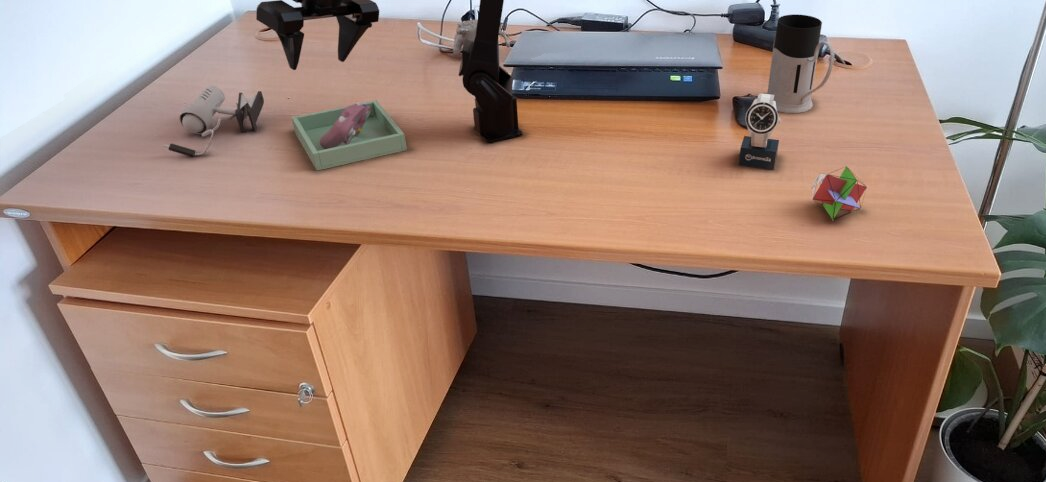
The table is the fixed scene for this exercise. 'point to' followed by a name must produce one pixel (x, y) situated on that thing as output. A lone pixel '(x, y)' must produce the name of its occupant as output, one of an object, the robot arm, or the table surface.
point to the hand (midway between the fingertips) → (317, 64)
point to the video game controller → (346, 126)
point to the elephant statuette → (469, 35)
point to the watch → (760, 134)
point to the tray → (370, 143)
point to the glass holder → (796, 62)
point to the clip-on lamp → (204, 108)
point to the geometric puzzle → (838, 192)
